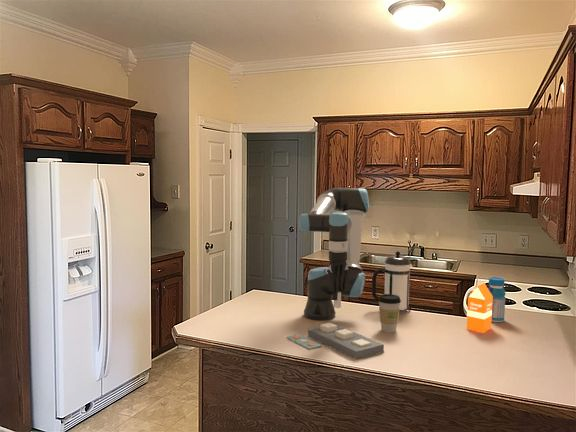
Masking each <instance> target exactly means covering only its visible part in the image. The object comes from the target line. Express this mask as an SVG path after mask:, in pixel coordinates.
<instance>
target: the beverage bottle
mask: <svg viewBox="0 0 576 432" xmlns="http://www.w3.org/2000/svg"><path fill="white" fill-rule="evenodd" d="M488 285H489V287H487V288H488V290H489V291H490V293H491V295H492V296H493V297H492V318H491V323H492V322H494V323H502V322H504V321H505V308H506V290H505V288H504V287H505V279H504V278H503V277H497V276H495V277H494V276H492V277H489V278H488Z"/></svg>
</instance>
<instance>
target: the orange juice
mask: <svg viewBox="0 0 576 432" xmlns="http://www.w3.org/2000/svg"><path fill="white" fill-rule="evenodd" d="M488 288H489V287H487V285H486V283H485V282H484V283H481V284H480V285H476V287H475V288H474V290H472V292H471V293H470V295H469V296H468V297H467V309H466V310H467V311H466V330H469V331H473V332H478V333H482V334H484V333H486V332H487V331H489V330H491V329H492V321H491V318H492V297H493V296H492V295H491V293H490V291H489V290H488Z"/></svg>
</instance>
